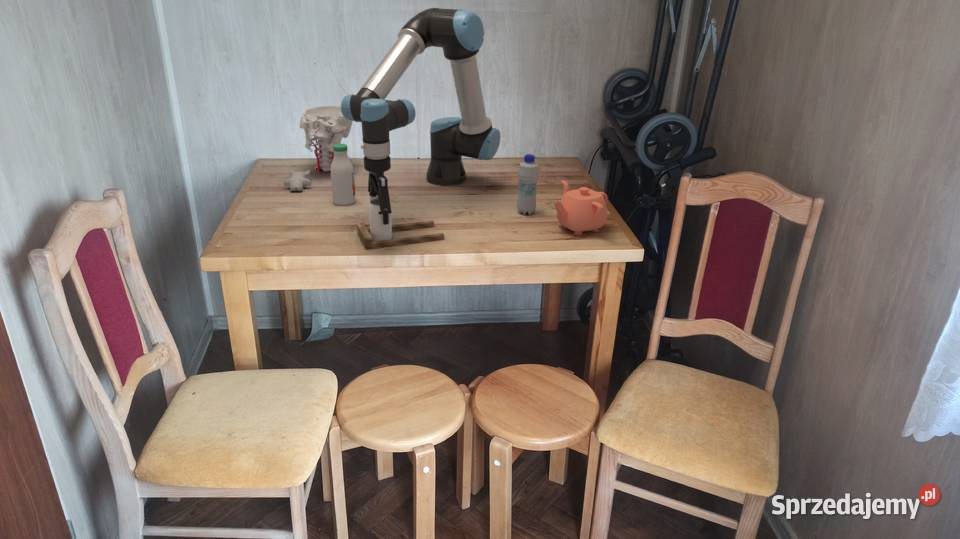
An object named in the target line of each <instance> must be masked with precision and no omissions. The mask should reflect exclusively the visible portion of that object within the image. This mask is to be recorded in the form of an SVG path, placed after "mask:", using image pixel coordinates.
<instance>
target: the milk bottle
mask: <svg viewBox="0 0 960 539" xmlns="http://www.w3.org/2000/svg"><path fill="white" fill-rule="evenodd" d="M333 150H334V151H333V152H334V159H333V162H332V164H331V172H330V181H331V182H330V183H331V193H332V194H331V195H332V202H333V203H334V204H335V205H337V206H350V205H352V204H355V202H356V187H355V186H356V184H355V174H354V168H353V167H354V166H353V164H352V162H351V161H350V158H349V156H348V144H346V143H340V144H335V145H333Z"/></svg>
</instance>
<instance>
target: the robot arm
mask: <svg viewBox="0 0 960 539" xmlns="http://www.w3.org/2000/svg"><path fill="white" fill-rule="evenodd" d="M484 36H485V28H484V23H483V21H482V18H481V17H480V16H479V14H478V13H476V12H475V11H472V10H468V9H463V8H461V9H454V8H439V7H430V8H427V9H424V10H422V11H420V12H418V13H416V14H415V15H414V16H413V17H411V18H410V19H409V20H408V21H407V22H406V23H405V24H404V25H403V26H402V27H401V29H400V30H399V32H398V34H397V39H396V41H395V42H394V43H393V45H392V46H391V47H390V49H389V50H388V52H387V53H386V54H385V56H383V58H382V60H381V61H380V62H379V64H378V65H377V67H375V69H374V70H373V72H372V73H371V74H370V76H369V77H368V78H367V79H366V81H365V82H364V84H363V85H362V86H361V87H360V89H359V90H358V92H357V93H356V94H354V93H352V94H347V95H345V96H344V97H343V98H342V100H341V104H340V106H341V112H342V114H343V116H344V117H345V118H346V119H348V120H352V122H356V123H361V134H362V145H360V148H361V149H363V150H362V151H363V153H362V154H363V168H364V170H365V171H366V172H368V180H367V181H368V182H367V183H368V184H367V185H368V186H367V192H368V194H369V202H370V201H371V200H373V199H377V198H378V201H379V206H380V212H378V214H380V228H381V235H383V234H391V233H390V213H391V214H392V205H391V200H390V199H391V198H390V192H389V186H388V185H389V182H388V181H389V180H388V178H387V177H386V175H385V172H388V171H390V169H391V167H392V166H391V164H392V163H391V156H390V155H391V140H390V132H392V131H393V130H396V129H400V128H404V127H406V126H408V125H410V124H412V123H413V122H414V121H415V119H416V114H417V113H416V108H415V106H414V104H413V103H412V102H411V100H409V99H405V98H402V99H396V100H389V99H386V98H387V97H388V95H389V94H390V93H391V91H392V90H393V88H394V87H395V86H396V84H397V83H398V82H399V80H400V79H401V78H402V76H403V75H404V73H405V72H406V71H407V70H408V68H409V67H410V66H411V65H412V62H413V61H414V60H415V59H416V57H417V56H418V55H421V54H423V53H424V51H425V50H426V49H428V48H432V47H435V48H442V51H443V52H442V53H443V56H444V59H445V60H448V61H449V63H450V68H451V73H452V76H453V77H452V78H453V82H454V86H455V87H454V88H455V92H456V97H457V102H458V107H459V112H460V116H461V117H460V116H459V117H458V116H449V117H441V118H437V119H434V120H432V121H431V122H430V128H429V129H430V130H429V134H430V135H429V137H430V140H429V141H430V161H429V164H428V167H427V171H426V175H425V176H426V181H427V182H428V183H430V184H433V185H438V186H456V185H459V184H460V185H461V184H463V183H465V182H466V181H467V172H466V169H465V167H464V166H465V165H464V163H463V160H462V159H463V157H465V158H472V159H477V160H479V161H481V160H483V161H490V160H492V159H493V158H494V157H495V156H496V154H497V152H498V150H499V148H500V144H501V132H500V130H499V129H498V128H496V127H493V122H492V120H491V118H490V117H488V115H487V114H486V107H485V102H484V101H485V100H484V96H483V89H482V84H481V77H480V72H479V67H478V61H477V55H478V54H479V53H480V49H481V48H482V45H483V43H484V41H485V40H484V39H485V38H484ZM384 209H385V210H384Z"/></svg>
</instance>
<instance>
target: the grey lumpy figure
mask: <svg viewBox="0 0 960 539" xmlns="http://www.w3.org/2000/svg"><path fill="white" fill-rule="evenodd" d="M311 174H312V172H311V170H310V169H306V170H304V171H297V170H293V169H292V170H290V172H289V176H291V177H289V178H286V179H284V180H283V185H284V187H286V188H289V190H290V192H304V188H307V187H312V180H311V179H309V178H307V177H308V176H310V175H311Z"/></svg>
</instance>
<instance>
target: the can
mask: <svg viewBox="0 0 960 539" xmlns="http://www.w3.org/2000/svg"><path fill="white" fill-rule="evenodd" d="M384 210H385V209H384ZM378 212H380V206H379V201H378V198H377V199H373V200H371V201H370V200H369V206H368V216H369V221H368V222H369V228H370V235H371V237H372V242H374V241H382V240H390V239H393V232H392V225H393V224H392V222H393V221H392V213H390V233H391V234H383V235H381V228H380V214H378Z"/></svg>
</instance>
